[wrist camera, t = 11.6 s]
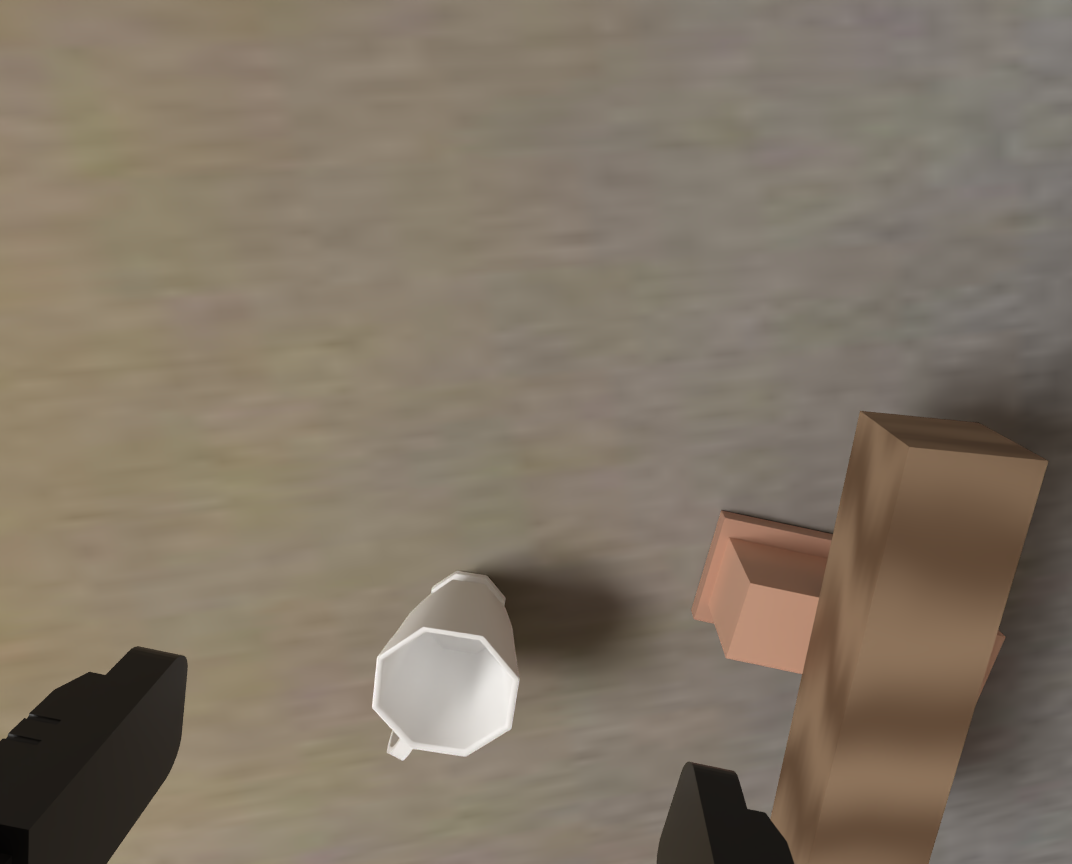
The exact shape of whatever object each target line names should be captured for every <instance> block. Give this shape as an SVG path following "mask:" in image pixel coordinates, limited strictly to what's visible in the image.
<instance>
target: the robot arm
mask: <svg viewBox="0 0 1072 864" xmlns="http://www.w3.org/2000/svg"><path fill="white" fill-rule="evenodd" d="M187 667H188V665H187V659H186V657H185V656H182V655H178V654H173V653H168V652H163V651H158V650H153V649H149V648H144V647H138V646H137V647H134V648H132V649H131V650H130V651H129V652H128V653H127V654H126V655H125V656H124V657H123V658H122V659H121V660H120V661H119V662H118V663H117V664H116V665H115V666H114V667H113V668H112V669H111V670H110V671H109V672H108V673H107V674H106V675H102V674H97V673H93V672H88V673H86V674H84V675H82V676H80V677H78V678H76V679H74V680H72V681H71V682H69V683H67V684H65V685H63V686H61V687H59V688H57V689H55V690H54V691H53V692H51V693H50V694H49V695H48V696H47V697H46V698H45V699H44V700H43V701H42V702H41V703H40V704H39V705H38V706H37V707H36V708H35V709H34V710H32V711H31V712H30V713H29V717H28V718H27V719H26V718H24V719H23V720H22V721H21V722H20V723H19V724H18V725H17V726H16V727H15V728H14V729H12V730H11V731H10V732H9V733H8V737H7V738H6V739H2V740H1V741H0V864H107V862H108V861H109V859H110V858H111V857H112V855H113V854H114V852H115V851H116V849H117V848H118V847H119V845H120V844H121V842H122V841H123V839H124V838H125V837H126V835H127V834H128V832H129V831H130V829H131V828H132V827H133V825H134V824H135V822H136V821H137V819H138V818H139V817H140V815H141V814H142V812H143V811H144V809H145V808H146V807H147V805H148V804H149V802H150V801H151V799H152V798H153V797H154V795H155V794H156V792H157V791H158V789H159V788H160V786H161V785H162V784H163V782H164V781H165V779H166V778H167V776H168V774H169V772H170V770H171V768H172V766H173V764H174V761H175V759H176V756H177V753H178V750H179V746H180V741H181V735H182V724H183V713H184V702H185V691H186V680H187ZM657 864H794V861H793V858H792V855H791V852H790V849H789V846H788V843H787V841H786V840H785V838H784V837H783V836H782V834H781V833H780V832H779V830H778V829H777V828H776V826H775V825H774V824H773V822H772V821H771V820H770V818H769V817H768V816H767V814H766V813H764V812H759V811H755V810H750V809H747V807H746V803H745V800H744V796H743V793H742V789H741V786H740V782H739V779H738V776H737V774H736V773H735V772H734V771H731V770H726V769H722V768H717V767H712V766H707V765H702V764H697V763H693V762H687V763H686V764H685V765H684V767H683V769H682V772H681V775H680V778H679V781H678V784H677V787H676V791H675V794H674V797H673V800H672V803H671V806H670V809H669V812H668V816H667V819H666V822H665V825H664V828H663V831H662V834H661V838H660V842H659V847H658V854H657Z"/></svg>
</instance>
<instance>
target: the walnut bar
mask: <svg viewBox="0 0 1072 864" xmlns="http://www.w3.org/2000/svg"><path fill="white" fill-rule="evenodd" d="M1047 464H1048V460H1046V459H1044V458H1042V457H1041V456H1039V455H1037V454H1035V453H1033V452H1031V451H1030V450H1028V449H1026V448H1024V447H1022V446H1020V445H1019V444H1017V443H1015V442H1013V441H1011V440H1010V439H1008V438H1006V437H1004V436H1002V435H1000V434H999V433H997V432H995V431H993V430H991V429H990V428H988V427H986V426H984V425H982V424H980V423H977V422H967V421H957V420H946V419H936V418H926V417H916V416H906V415H896V414H886V413H876V412H866V411H860V414H859V419H858V423H857V428H856V432H855V437H854V441H853V446H852V451H851V455H850V460H849V464H848V469H847V473H846V478H845V482H844V487H843V491H842V496H841V501H840V505H839V510H838V514H837V519H836V523H835V528H834V532H833V537H832V542H831V546H830V551H829V555H828V560H827V564H826V569H825V573H824V578H823V582H822V587H821V592H820V596H819V601H818V605H817V610H816V614H815V619H814V623H813V628H812V633H811V637H810V642H809V646H808V651H807V655H806V660H805V664H804V669H803V673H802V678H801V683H800V687H799V692H798V696H797V701H796V705H795V710H794V714H793V719H792V723H791V728H790V733H789V737H788V742H787V746H786V751H785V755H784V760H783V764H782V769H781V773H780V778H779V783H778V787H777V792H776V796H775V801H774V805H773V810H772V814H771V819H770V820H771V821H772V822H773V824H774V825H775V826H776V828H777V829H778V830H779V832H780V833H781V834H782V836H783V837H784V838H785V840H786V841H787V843H788V846H789V849H790V852H791V855H792V858H793V861H794V864H928V863H929V860H930V857H931V853H932V850H933V847H934V843H935V840H936V837H937V833H938V830H939V826H940V823H941V820H942V816H943V813H944V810H945V806H946V803H947V800H948V796H949V793H950V790H951V786H952V783H953V780H954V776H955V773H956V769H957V766H958V763H959V759H960V756H961V753H962V749H963V746H964V743H965V739H966V736H967V733H968V729H969V726H970V723H971V719H972V716H973V712H974V709H975V706H976V702H977V699H978V696H979V692H980V689H981V686H982V682H983V679H984V676H985V672H986V669H987V666H988V662H989V659H990V656H991V652H992V649H993V645H994V642H995V639H996V635H997V632H998V629H999V625H1000V622H1001V619H1002V615H1003V612H1004V609H1005V605H1006V602H1007V599H1008V595H1009V592H1010V588H1011V585H1012V582H1013V578H1014V575H1015V572H1016V568H1017V565H1018V562H1019V558H1020V555H1021V552H1022V548H1023V545H1024V542H1025V538H1026V535H1027V532H1028V528H1029V525H1030V521H1031V518H1032V515H1033V511H1034V508H1035V505H1036V501H1037V498H1038V495H1039V491H1040V488H1041V485H1042V481H1043V478H1044V475H1045V471H1046V468H1047Z"/></svg>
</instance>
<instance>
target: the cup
mask: <svg viewBox="0 0 1072 864" xmlns="http://www.w3.org/2000/svg"><path fill="white" fill-rule="evenodd" d="M505 599H506V598H505V596H504V595H503V594H502V593H501V592H500V590H499V589H498V588H497V587H496V585H495V584H494V583H493V582H492V581H491V579H490V578H489V577H488V576H487V575H482V574H475V573H469V572H462V571H455V572H454V573H452V574H451V575H449V576H448V577H446V578H445V579H443V580H442V581H440V582H439V583H438V584H436V585H435V586H433V587H432V591H431V594H430V595H429V596H427V597H426V598H425V599H424V600H423V601H422V602H421V603H420V604H419V605H418V606H417V607H415V608H414V609H413V610H412V611H411V612H410V614H409V615H408V616H407V618H406V619H405V621H404V622H403V623H402V625H401V626H400V628H399V629H398V630H397V632H396V633H395V634H394V636H393V637H392V638H391V639H390V641H389V642H388V643H387V644H386V646H385V647H384V649H383V650H382V651H381V653H380V654H379V655H378V657H377V663H376V673H375V683H374V693H373V704H372V708H373V709H374V710H375V711H376V713H377V714H378V715H379V716H380V717H381V718H382V719H383V720H384V721H385V722H386V723H387V725H388V726H389V727H390V728H391V729H392V733H391V736H390V740H389V744H388V749H387V753H389V754H391V755H393V756H395V757H397V758H399V759H401V760H402V761H403V760H404V759H405V758H406V757H407V756H408V755H409V753H410V752H411V751H412V749H418V750H425V751H431V752H438V753H444V754H451V755H457V756H464V757H466V756H468V755H469V754H471V753H473V752H474V751H476V750H478V749H479V748H481V747H483V746H484V745H486V744H487V743H489V742H491V741H492V740H494V739H496V738H497V737H499V736H501V735H502V734H504V733H506V732H507V731H509V730H510V729H511V728H512V722H513V716H514V710H515V704H516V697H517V691H518V685H519V672H518V664H517V658H516V652H515V645H514V636H513V628H512V625H511V622H510V619H509V616H508V614H507V611H506V608H505V607H504V606H505Z"/></svg>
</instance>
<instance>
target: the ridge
mask: <svg viewBox="0 0 1072 864" xmlns="http://www.w3.org/2000/svg"><path fill="white" fill-rule="evenodd" d="M832 537H833V534H830V533H825V532H820V531H816V530H811V529H806V528H802V527H797V526H792V525H788V524H783V523H778V522H774V521H769V520H764V519H759V518H755V517H750V516H745V515H741V514H736V513H731V512H727V511H722V510H721V513H720V516H719V520H718V523H717V526H716V530H715V533H714V536H713V540H712V543H711V546H710V549H709V553H708V556H707V559H706V563H705V566H704V569H703V573H702V576H701V579H700V582H699V586H698V589H697V592H696V596H695V599H694V602H693V606H692V609H691V611H692V614H693V618H694V619H695V620H700V621H704V622H709V623H714V624H715V627H716V630H717V633H718V636H719V639H720V642H721V645H722V648H723V651H724V653H725V656H726V658H728V659H733V660H738V661H742V662H747V663H752V664H757V665H762V666H766V667H771V668H776V669H781V670H785V671H790V672H795V673H800V674H802V673H803V669H804V664H805V660H806V655H807V651H808V646H809V642H810V637H811V633H812V628H813V623H814V619H815V614H816V610H817V605H818V601H819V596H820V592H821V587H822V582H823V578H824V573H825V569H826V564H827V560H828V555H829V551H830V546H831V542H832ZM1004 640H1005V636H1004V635H1003V634H1002V633H1001V632H1000V631H999V630H998V632H997V635H996V639H995V642H994V645H993V649H992V652H991V656H990V659H989V662H988V666H987V669H986V672H985V676H984V679H983V682H982V686H981V689H980V692H979V696H980V694H981V692H982V689H983V687H984V685H985V683H986V680H987V678H988V676H989V674H990V671H991V669H992V667H993V664H994V662H995V660H996V658H997V655H998V653H999V651H1000V649H1001V646H1002V644H1003V642H1004ZM979 696H978V698H979ZM977 701H978V699H977ZM976 703H977V702H976Z"/></svg>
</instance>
